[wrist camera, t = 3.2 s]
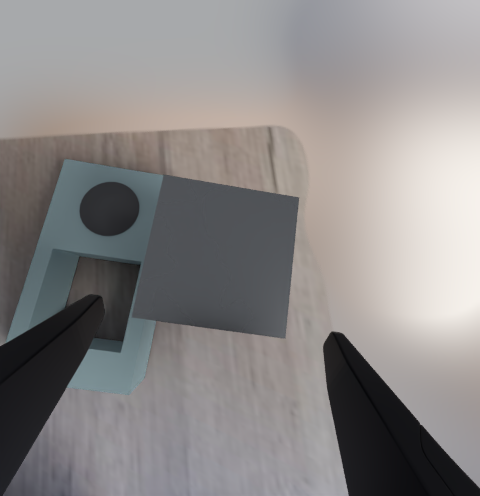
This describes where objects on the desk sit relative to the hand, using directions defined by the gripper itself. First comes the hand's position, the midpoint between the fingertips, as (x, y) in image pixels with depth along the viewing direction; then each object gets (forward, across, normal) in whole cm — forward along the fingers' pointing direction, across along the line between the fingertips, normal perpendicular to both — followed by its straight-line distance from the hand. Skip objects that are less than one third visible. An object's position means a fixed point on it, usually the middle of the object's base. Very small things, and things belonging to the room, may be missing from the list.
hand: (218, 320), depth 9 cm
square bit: (+8, 0, +5) cm, 9 cm away
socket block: (+8, +8, +5) cm, 12 cm away
